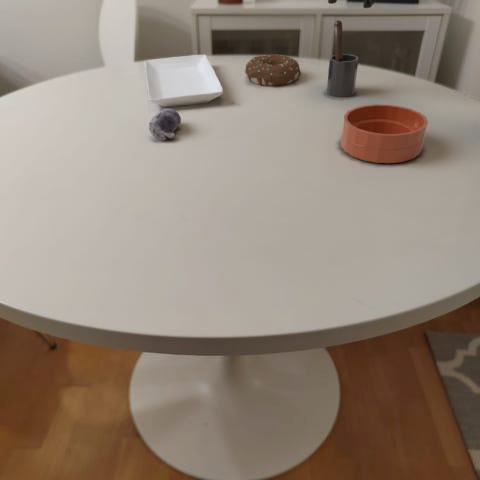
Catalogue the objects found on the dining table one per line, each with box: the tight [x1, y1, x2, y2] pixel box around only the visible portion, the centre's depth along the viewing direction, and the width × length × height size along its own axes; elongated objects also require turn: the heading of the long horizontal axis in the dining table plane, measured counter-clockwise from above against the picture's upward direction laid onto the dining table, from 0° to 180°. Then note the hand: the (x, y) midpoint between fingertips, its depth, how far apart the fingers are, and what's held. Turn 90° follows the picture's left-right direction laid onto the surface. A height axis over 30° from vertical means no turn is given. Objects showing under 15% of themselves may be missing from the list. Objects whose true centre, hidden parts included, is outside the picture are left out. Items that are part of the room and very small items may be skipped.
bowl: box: [340, 104, 429, 164], centre depth 82 cm, size 14×14×6 cm
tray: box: [143, 54, 224, 108], centre depth 112 cm, size 17×32×4 cm, turn 11°
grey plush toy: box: [148, 107, 182, 142], centre depth 91 cm, size 5×5×10 cm
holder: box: [326, 53, 359, 98], centre depth 103 cm, size 6×6×8 cm
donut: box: [244, 53, 302, 87], centre depth 113 cm, size 14×14×5 cm
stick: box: [333, 20, 344, 61], centre depth 99 cm, size 2×2×16 cm
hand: (349, 5), depth 94 cm, fingers open, 8 cm apart
